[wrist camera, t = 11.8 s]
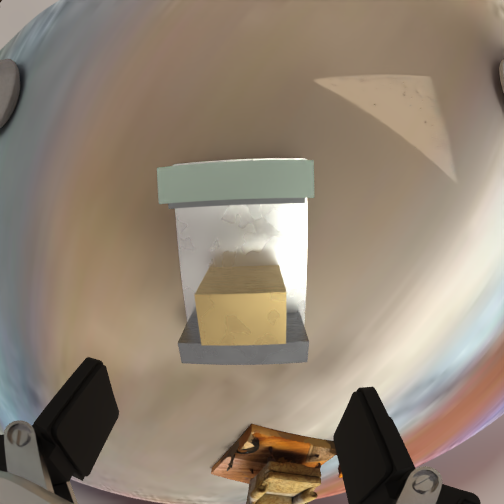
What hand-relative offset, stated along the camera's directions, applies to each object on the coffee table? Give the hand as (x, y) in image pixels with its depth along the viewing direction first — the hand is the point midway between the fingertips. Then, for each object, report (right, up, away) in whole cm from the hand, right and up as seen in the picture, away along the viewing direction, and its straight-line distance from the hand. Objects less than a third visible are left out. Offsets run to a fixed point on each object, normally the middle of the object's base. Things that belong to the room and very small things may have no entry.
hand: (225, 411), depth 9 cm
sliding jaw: (0, +11, +13) cm, 17 cm away
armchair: (+4, -25, +23) cm, 35 cm away
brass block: (0, +3, +15) cm, 15 cm away
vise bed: (0, +6, +15) cm, 16 cm away
